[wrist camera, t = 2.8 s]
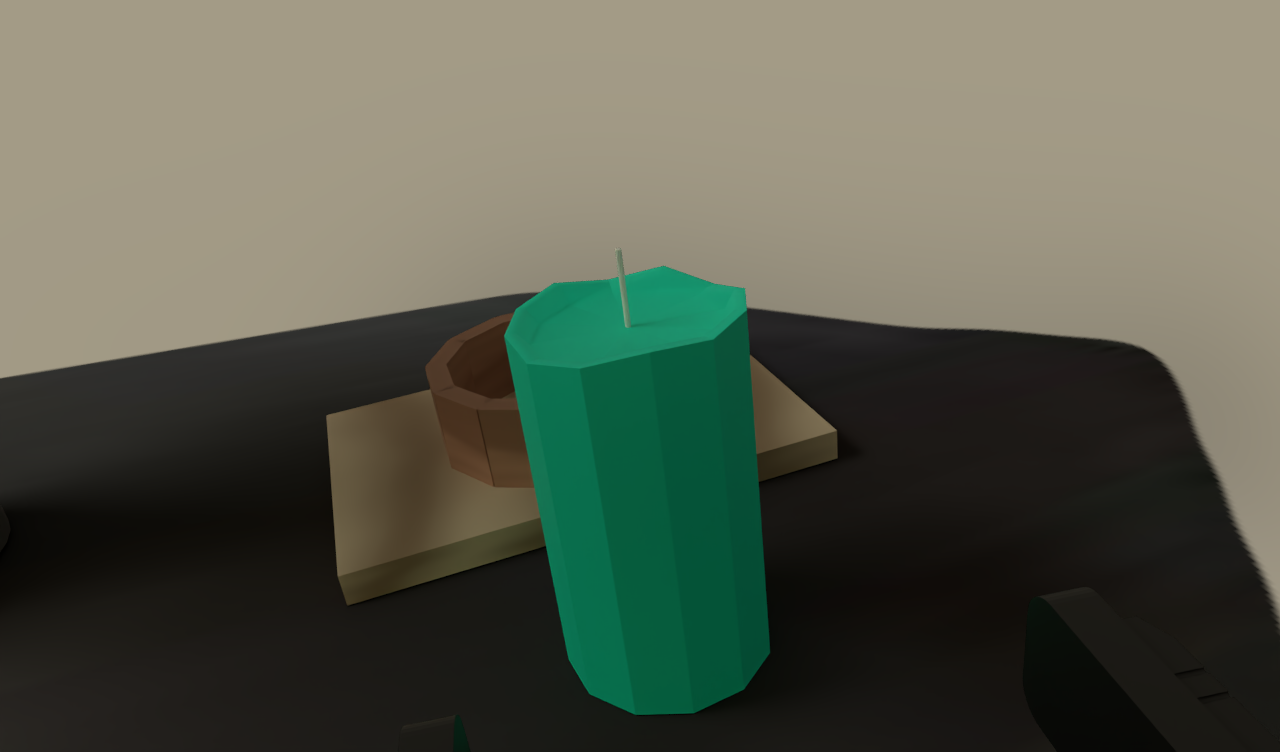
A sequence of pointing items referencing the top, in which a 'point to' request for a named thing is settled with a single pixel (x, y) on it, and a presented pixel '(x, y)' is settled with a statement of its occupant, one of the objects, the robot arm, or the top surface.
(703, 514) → the candle
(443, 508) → the cup stand
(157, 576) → the top surface
